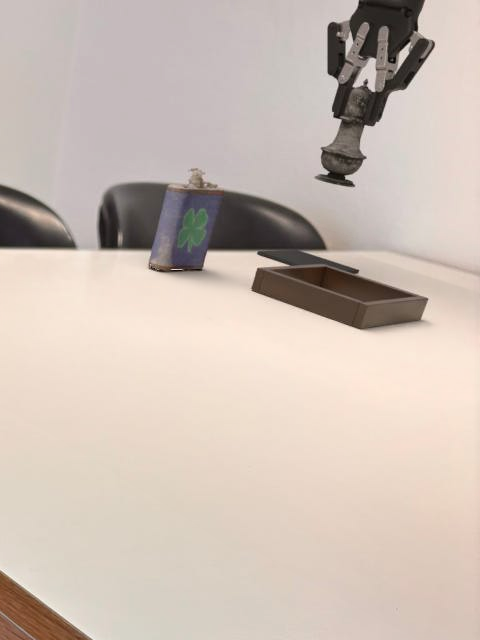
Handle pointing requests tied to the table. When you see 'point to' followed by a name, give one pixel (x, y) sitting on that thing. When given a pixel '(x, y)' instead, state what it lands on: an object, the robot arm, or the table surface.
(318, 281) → the tray
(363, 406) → the table surface
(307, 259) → the mat
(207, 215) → the flask
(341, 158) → the salt shaker
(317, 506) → the table surface
